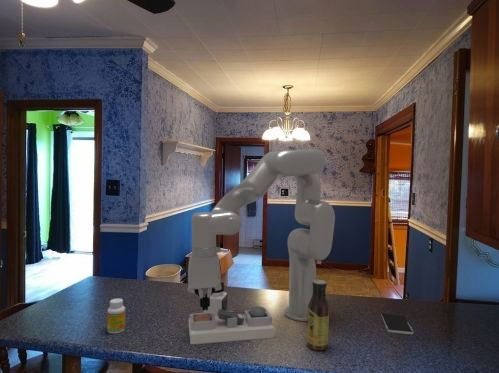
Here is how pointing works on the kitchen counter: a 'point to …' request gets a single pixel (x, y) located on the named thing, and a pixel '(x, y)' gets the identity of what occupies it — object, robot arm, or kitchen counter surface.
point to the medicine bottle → (217, 301)
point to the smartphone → (396, 323)
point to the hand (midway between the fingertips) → (205, 308)
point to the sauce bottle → (318, 317)
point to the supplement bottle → (116, 316)
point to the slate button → (257, 312)
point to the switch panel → (230, 328)
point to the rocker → (230, 316)
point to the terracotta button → (202, 317)
